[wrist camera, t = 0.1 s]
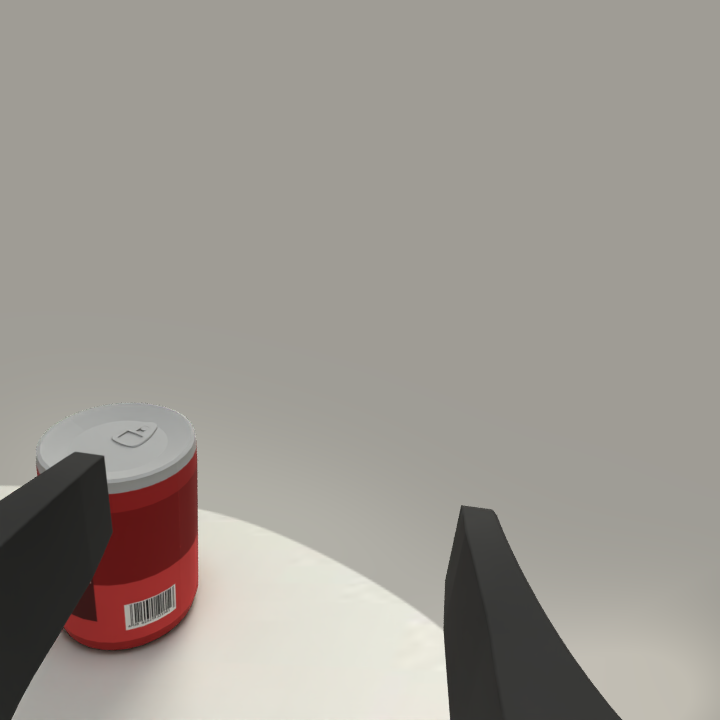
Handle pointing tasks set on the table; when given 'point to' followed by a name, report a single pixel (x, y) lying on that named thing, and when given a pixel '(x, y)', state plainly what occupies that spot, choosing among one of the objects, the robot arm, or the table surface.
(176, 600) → the canned food
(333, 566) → the table surface
